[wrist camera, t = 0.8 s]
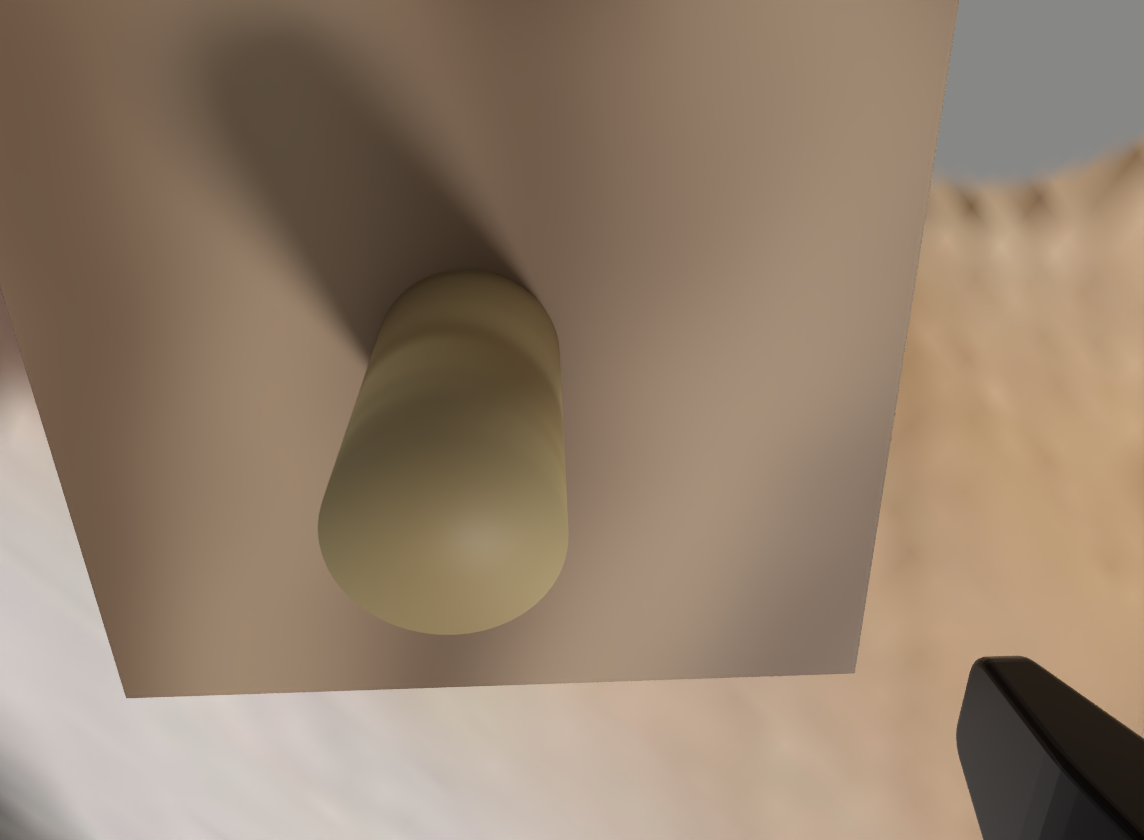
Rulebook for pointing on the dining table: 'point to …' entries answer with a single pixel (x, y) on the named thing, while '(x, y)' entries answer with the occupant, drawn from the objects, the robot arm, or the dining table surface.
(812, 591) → the lid
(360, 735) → the dining table surface
